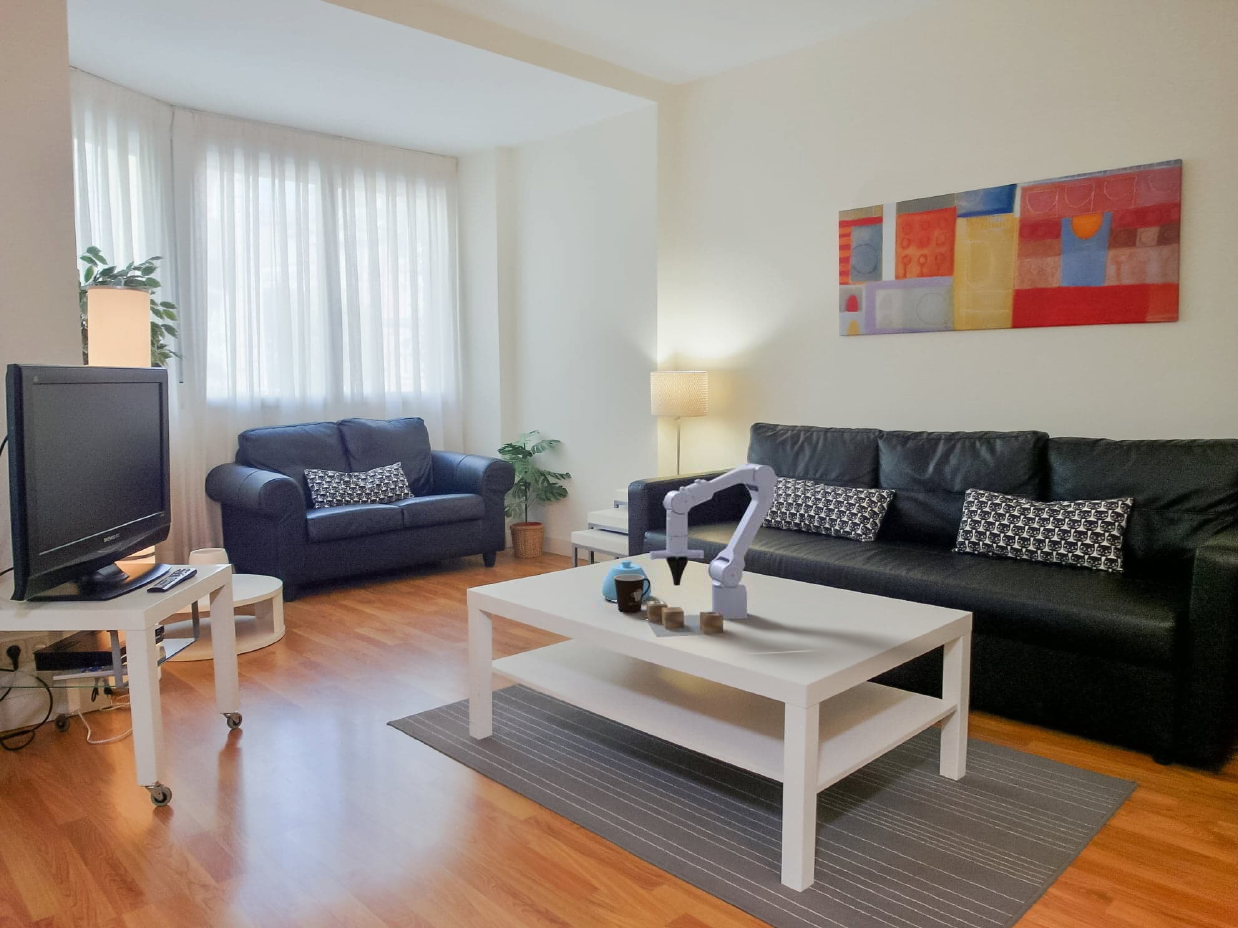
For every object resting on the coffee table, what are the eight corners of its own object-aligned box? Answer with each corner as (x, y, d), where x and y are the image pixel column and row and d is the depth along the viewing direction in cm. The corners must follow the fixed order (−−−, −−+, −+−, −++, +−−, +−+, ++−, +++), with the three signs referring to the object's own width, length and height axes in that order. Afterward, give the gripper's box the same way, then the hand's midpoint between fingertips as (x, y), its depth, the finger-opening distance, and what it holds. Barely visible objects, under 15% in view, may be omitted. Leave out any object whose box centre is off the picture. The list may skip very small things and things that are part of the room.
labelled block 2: (718, 627, 234) (718, 610, 233) (723, 633, 229) (723, 614, 228) (700, 628, 233) (699, 610, 233) (704, 633, 228) (704, 615, 228)
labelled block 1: (664, 616, 246) (664, 599, 246) (667, 621, 241) (667, 603, 241) (646, 617, 245) (646, 600, 245) (649, 622, 240) (649, 604, 240)
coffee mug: (619, 616, 248) (618, 581, 248) (611, 609, 257) (610, 575, 256) (658, 613, 252) (658, 578, 251) (649, 606, 260) (649, 572, 259)
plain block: (680, 623, 239) (680, 606, 239) (683, 627, 234) (683, 611, 234) (661, 623, 238) (661, 607, 238) (665, 628, 233) (665, 612, 233)
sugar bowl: (652, 592, 278) (652, 556, 277) (649, 604, 263) (649, 565, 262) (605, 592, 279) (604, 556, 278) (599, 603, 264) (598, 565, 263)
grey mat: (708, 615, 248) (707, 614, 248) (725, 634, 228) (725, 633, 228) (644, 618, 246) (644, 617, 246) (656, 638, 226) (656, 636, 226)
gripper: (653, 538, 236) (652, 588, 237) (706, 537, 238) (706, 587, 239) (648, 534, 243) (648, 582, 244) (700, 533, 245) (700, 581, 246)
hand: (676, 584), depth 242 cm, fingers closed
